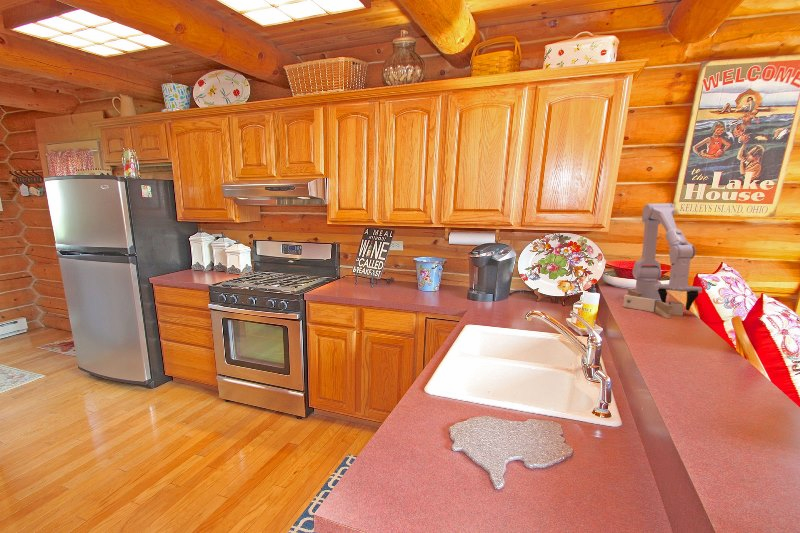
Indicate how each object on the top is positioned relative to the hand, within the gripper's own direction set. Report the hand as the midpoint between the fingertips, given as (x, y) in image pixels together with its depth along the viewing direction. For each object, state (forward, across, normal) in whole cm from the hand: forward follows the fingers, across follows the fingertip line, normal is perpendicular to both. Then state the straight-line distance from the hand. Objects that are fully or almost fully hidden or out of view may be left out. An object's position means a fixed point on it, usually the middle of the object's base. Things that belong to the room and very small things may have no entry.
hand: (675, 308), depth 140 cm
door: (+2, -12, +1) cm, 12 cm away
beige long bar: (+2, -8, +4) cm, 10 cm away
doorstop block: (+2, 0, 0) cm, 2 cm away
